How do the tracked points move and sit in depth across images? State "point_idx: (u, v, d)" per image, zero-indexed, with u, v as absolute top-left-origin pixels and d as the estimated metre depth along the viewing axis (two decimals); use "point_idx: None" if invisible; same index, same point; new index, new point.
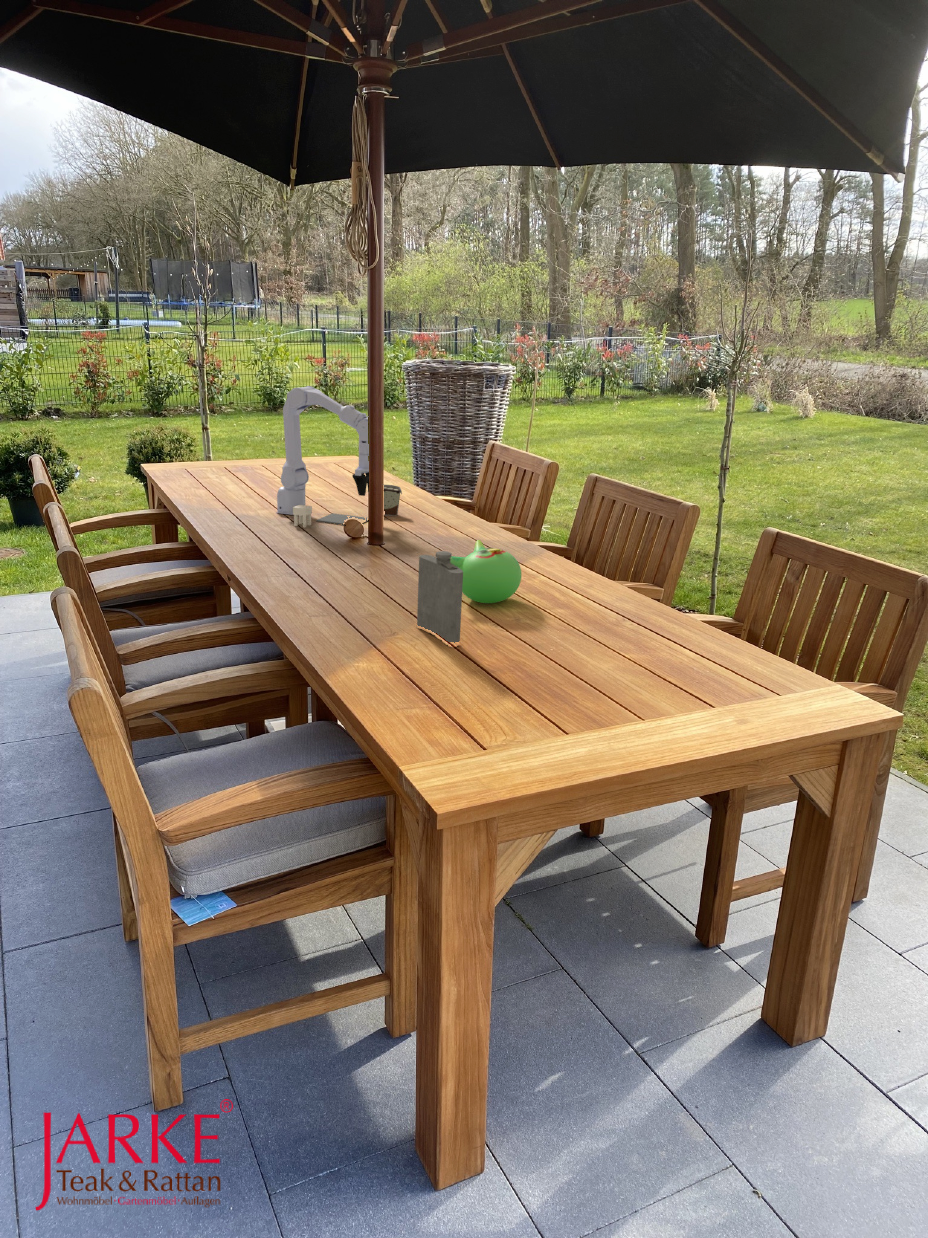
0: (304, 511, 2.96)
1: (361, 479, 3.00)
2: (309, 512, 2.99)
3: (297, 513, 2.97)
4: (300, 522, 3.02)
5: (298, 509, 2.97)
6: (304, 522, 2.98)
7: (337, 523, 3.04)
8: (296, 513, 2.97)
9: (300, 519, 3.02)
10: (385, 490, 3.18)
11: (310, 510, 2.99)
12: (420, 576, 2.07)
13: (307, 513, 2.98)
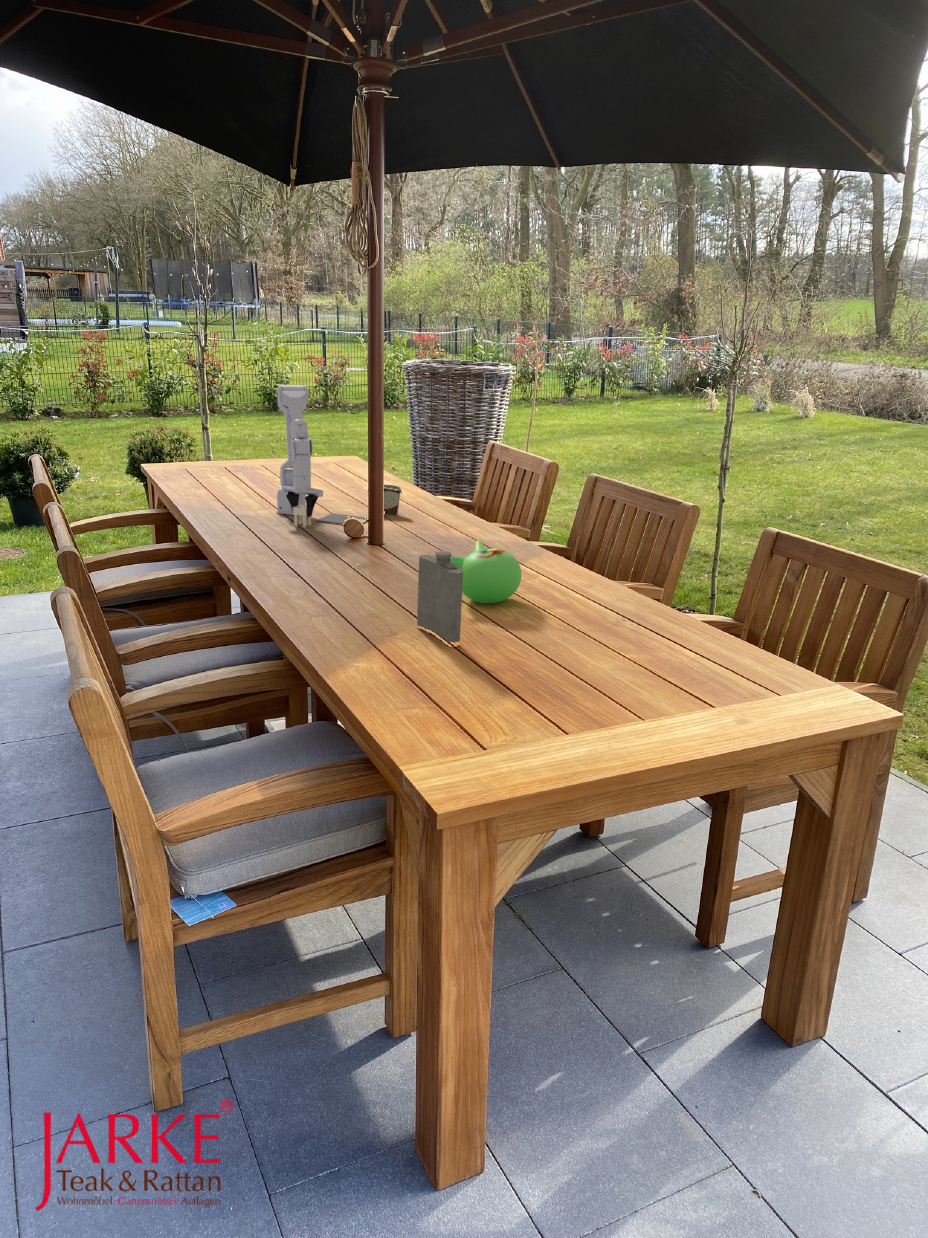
0: (304, 511, 2.96)
1: None
2: None
3: (297, 513, 2.97)
4: (300, 522, 3.02)
5: (298, 509, 2.97)
6: (304, 522, 2.98)
7: (337, 523, 3.04)
8: (296, 513, 2.97)
9: (300, 519, 3.02)
10: (385, 490, 3.18)
11: None
12: (420, 576, 2.07)
13: None
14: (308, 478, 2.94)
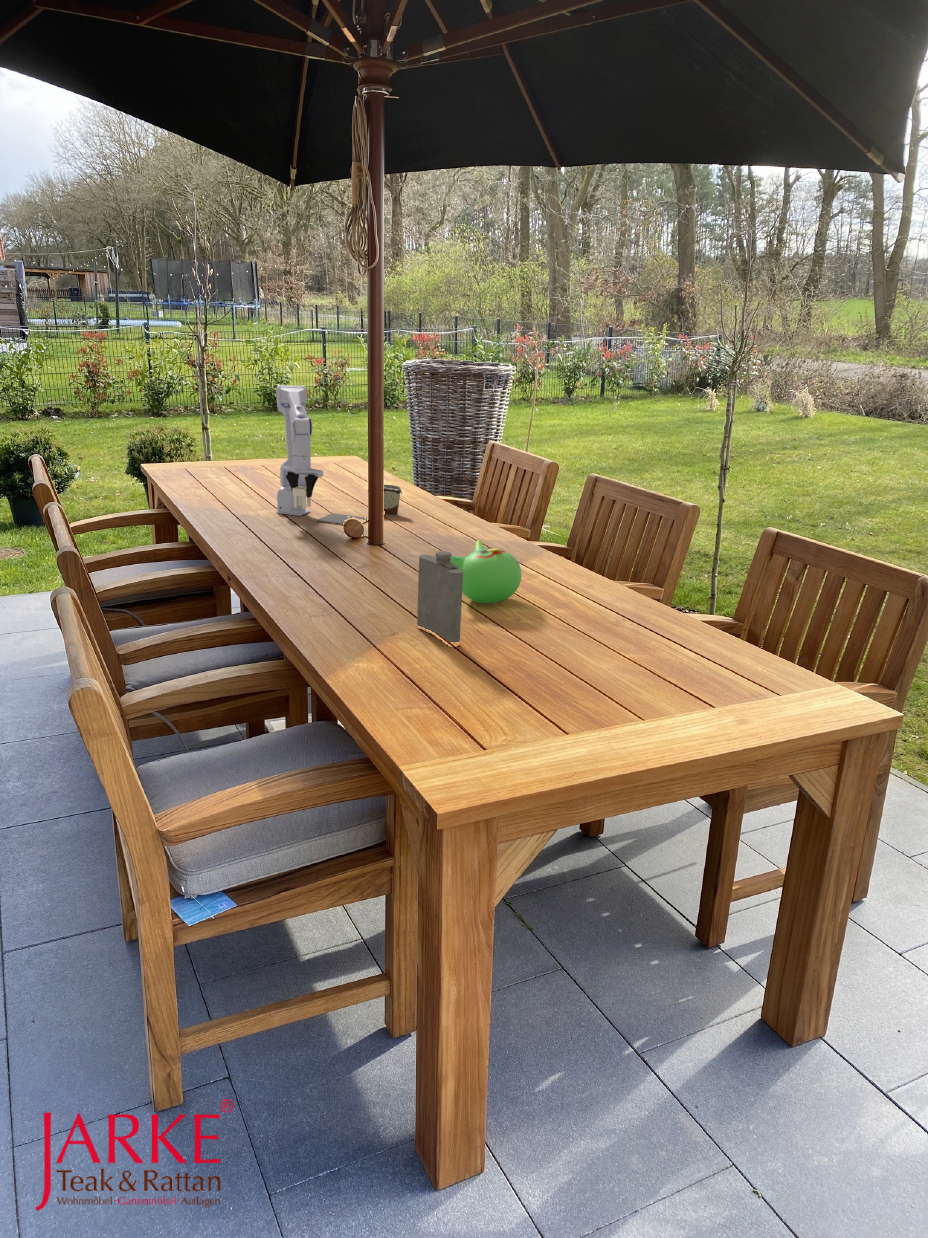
0: (304, 492, 2.94)
1: None
2: None
3: (297, 494, 2.95)
4: (300, 503, 3.00)
5: (298, 490, 2.95)
6: (304, 503, 2.96)
7: (337, 523, 3.04)
8: (295, 494, 2.95)
9: (300, 500, 2.99)
10: (385, 490, 3.18)
11: None
12: (420, 576, 2.07)
13: None
14: (308, 458, 2.92)
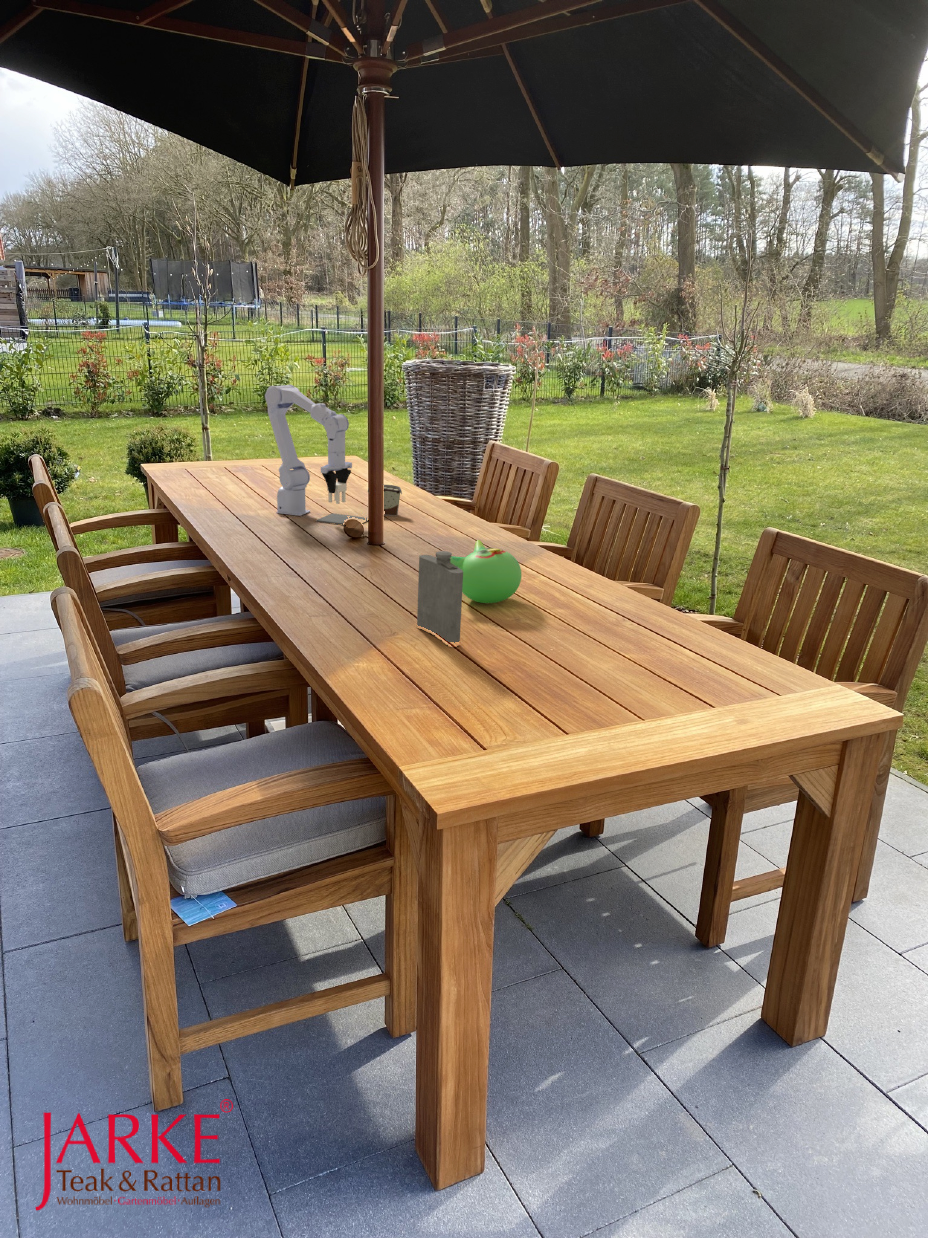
0: (345, 486, 3.04)
1: (330, 476, 3.00)
2: None
3: (341, 490, 3.03)
4: (331, 500, 3.05)
5: (341, 486, 3.02)
6: (344, 497, 3.06)
7: (337, 523, 3.04)
8: (340, 490, 3.02)
9: (331, 497, 3.05)
10: (385, 490, 3.18)
11: None
12: (420, 576, 2.07)
13: None
14: None
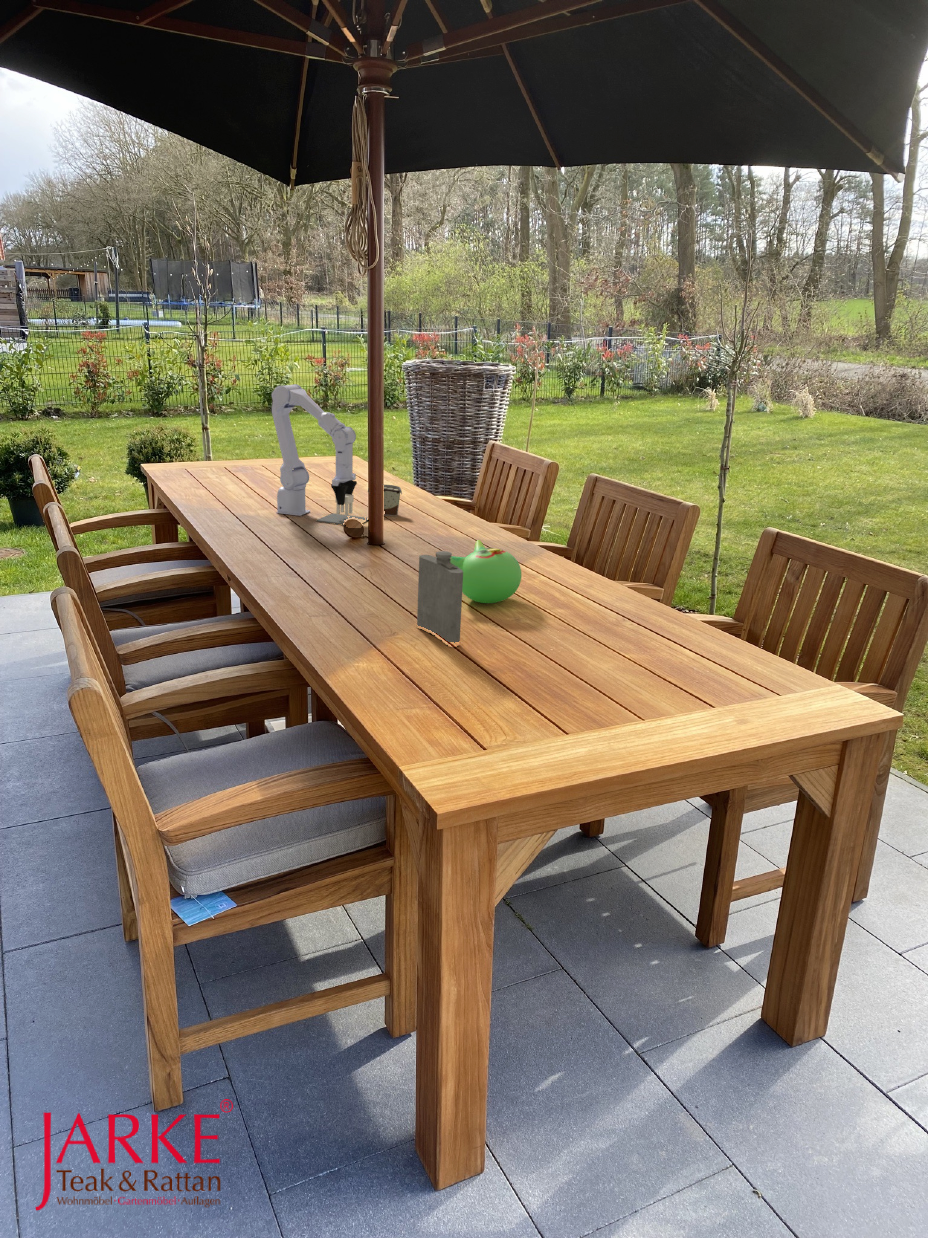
0: (353, 497, 3.08)
1: (340, 488, 3.03)
2: None
3: (349, 501, 3.06)
4: (339, 512, 3.08)
5: (350, 497, 3.06)
6: (351, 508, 3.09)
7: (337, 523, 3.04)
8: (349, 501, 3.06)
9: (339, 509, 3.07)
10: (385, 490, 3.18)
11: None
12: (420, 576, 2.07)
13: None
14: None
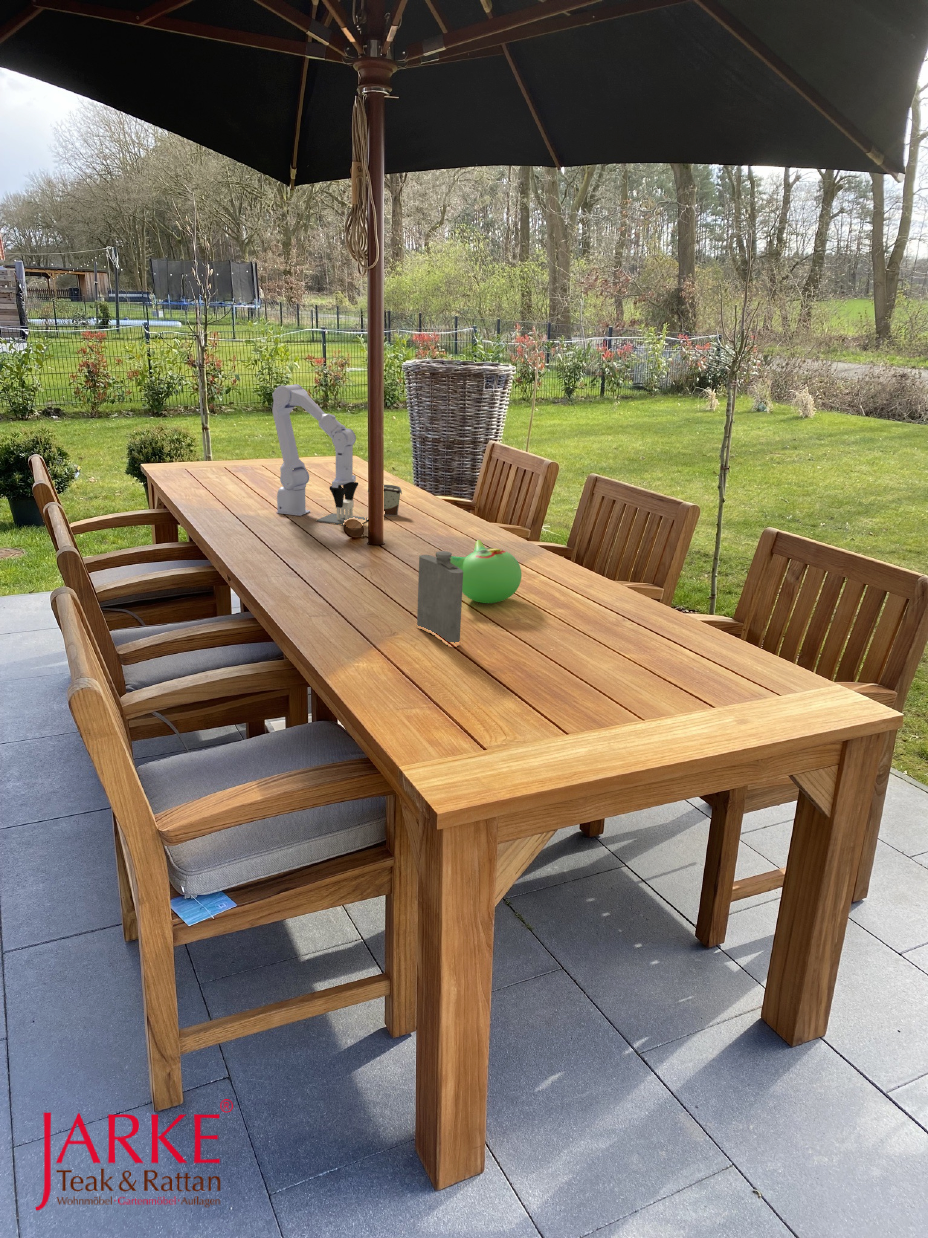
0: (353, 503, 3.09)
1: (338, 491, 3.02)
2: None
3: (350, 507, 3.07)
4: (339, 517, 3.08)
5: (350, 503, 3.07)
6: (351, 514, 3.10)
7: (337, 523, 3.04)
8: (349, 507, 3.06)
9: (339, 515, 3.08)
10: (385, 490, 3.18)
11: None
12: (420, 576, 2.07)
13: None
14: None
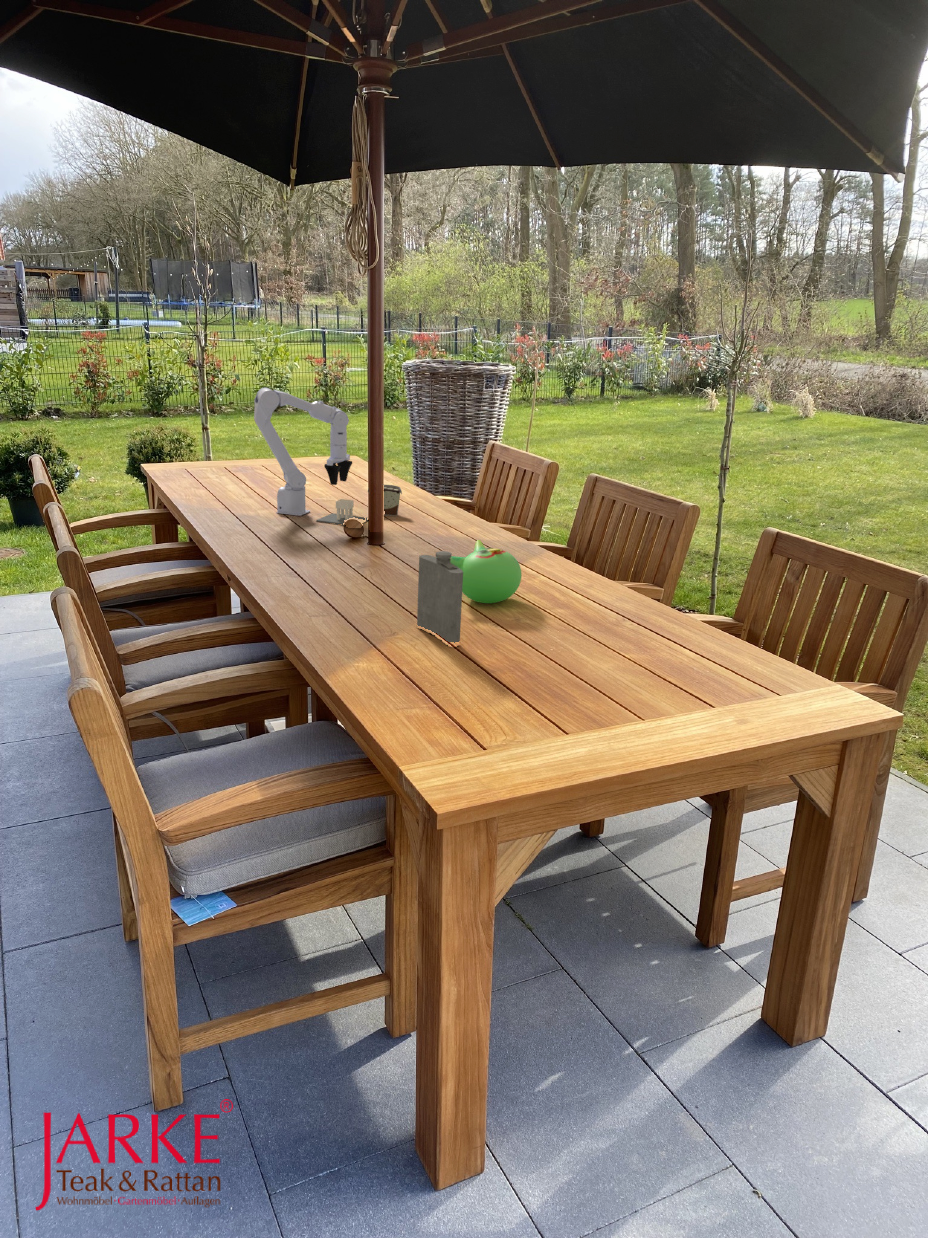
0: (353, 503, 3.09)
1: (333, 469, 3.14)
2: None
3: (350, 507, 3.07)
4: (339, 517, 3.08)
5: (350, 503, 3.07)
6: (351, 514, 3.10)
7: (337, 523, 3.04)
8: (349, 507, 3.06)
9: (339, 515, 3.08)
10: (385, 490, 3.18)
11: None
12: (420, 576, 2.07)
13: None
14: None
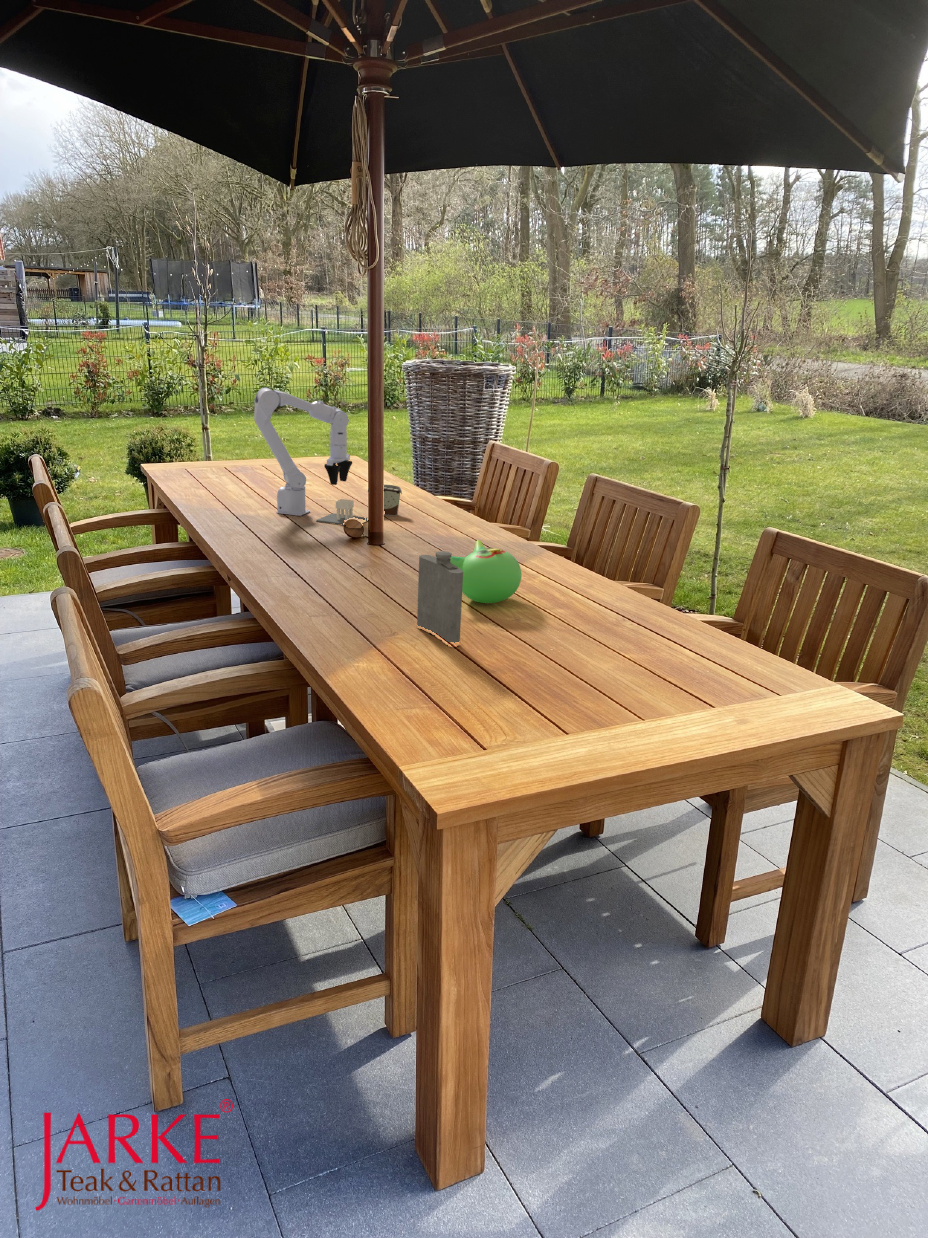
0: (353, 503, 3.09)
1: (333, 469, 3.14)
2: None
3: (350, 507, 3.07)
4: (339, 517, 3.08)
5: (350, 503, 3.07)
6: (351, 514, 3.10)
7: (337, 523, 3.04)
8: (349, 507, 3.06)
9: (339, 515, 3.08)
10: (385, 490, 3.18)
11: None
12: (420, 576, 2.07)
13: None
14: None
